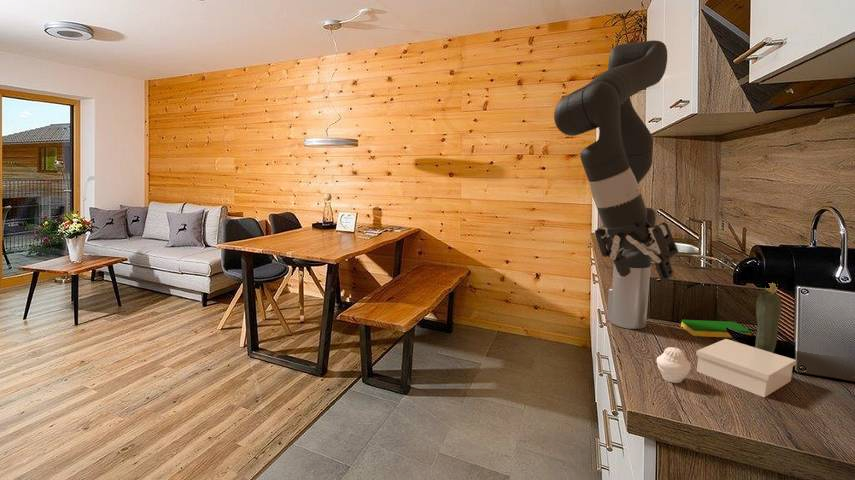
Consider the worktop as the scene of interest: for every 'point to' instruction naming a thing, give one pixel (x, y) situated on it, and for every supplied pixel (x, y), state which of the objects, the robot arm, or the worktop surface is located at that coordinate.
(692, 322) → the dish sponge
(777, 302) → the vegetable
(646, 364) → the worktop surface
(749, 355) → the cardboard box
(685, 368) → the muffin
